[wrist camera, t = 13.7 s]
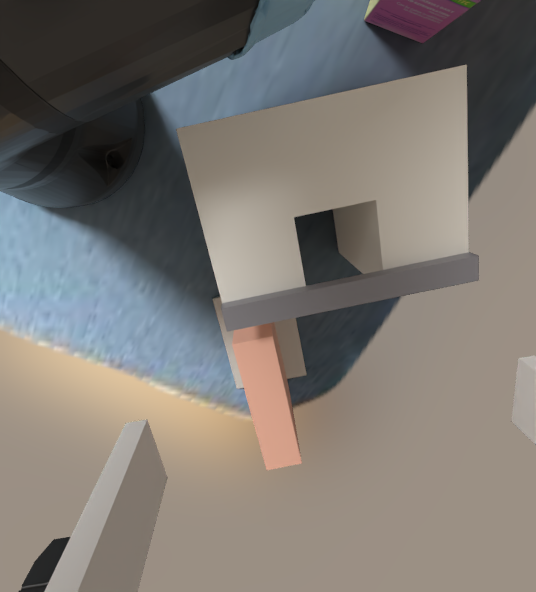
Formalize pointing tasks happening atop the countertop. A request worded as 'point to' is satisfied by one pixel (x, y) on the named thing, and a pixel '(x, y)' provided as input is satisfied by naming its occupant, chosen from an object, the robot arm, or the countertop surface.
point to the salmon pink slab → (267, 394)
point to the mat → (287, 343)
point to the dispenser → (336, 195)
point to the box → (416, 16)
